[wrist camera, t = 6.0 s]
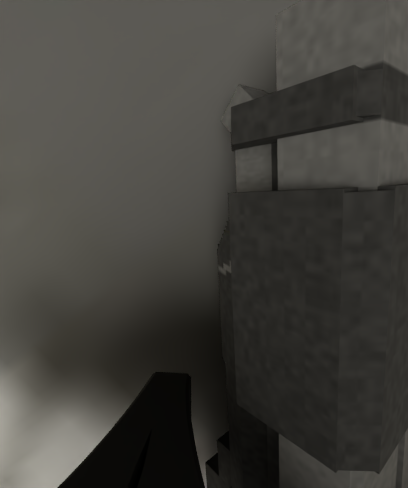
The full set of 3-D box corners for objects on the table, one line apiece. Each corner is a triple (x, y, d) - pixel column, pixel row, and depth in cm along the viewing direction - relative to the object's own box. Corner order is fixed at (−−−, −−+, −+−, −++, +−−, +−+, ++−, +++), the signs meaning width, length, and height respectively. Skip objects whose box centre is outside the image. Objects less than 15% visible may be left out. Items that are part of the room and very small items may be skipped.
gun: (167, 647, 12) (522, 1315, 4) (80, 158, 11) (370, -93, 3) (242, 558, 15) (541, 873, 7) (180, 160, 14) (464, 29, 6)
